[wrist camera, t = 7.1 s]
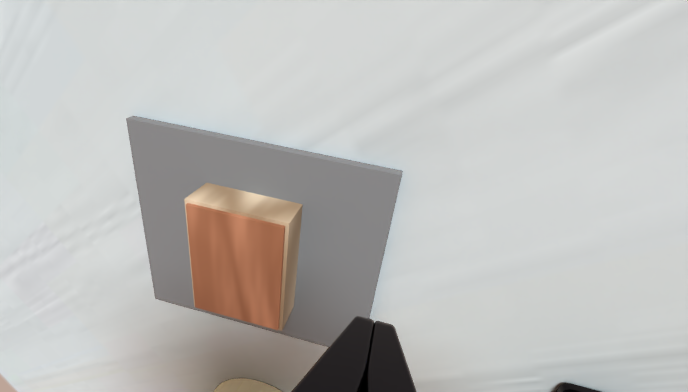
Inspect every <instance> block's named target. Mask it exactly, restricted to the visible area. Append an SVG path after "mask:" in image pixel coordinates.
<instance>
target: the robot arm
mask: <svg viewBox="0 0 688 392" xmlns="http://www.w3.org/2000/svg"><path fill="white" fill-rule="evenodd" d="M292 392H416V389H415V386H414V383H413V380H412V377H411V374H410V371H409V368H408V365H407V362H406V359H405V356H404V354H403V351H402V348H401V345H400V342H399V339H398V336H397V333H396V330H395V328H394V326H393V325H391V324H388V323H384V322H380V321H376V322H375V323H374V321H373V320H372V319H369V318H365V317H361V316H356V317H355V318H354V319H353V320H352V321H351V322H350V323H349V325H348V326H347V327H346V328H345V329H344V331H343V332H342V333H341V334H340V335H339V336H338V338H337V339H336V340H335V341H334V342H333V343H332V345H331V346H330V347H329V348H328V349H327V351H326V352H325V353H324V354H323V355H322V356H321V358H320V359H319V360H318V361H317V362H316V363H315V365H314V366H313V367H312V368H311V369H310V371H309V372H308V373H307V374H306V375H305V376H304V378H303V379H302V380H301V381H300V382H299V383H298V385H297V386H296V387H295V388H294V389H293V391H292ZM557 392H600V391H596V390H592V389H589V388H585V387H581V386H577V385H574V384H569V383H567V384H563V385H561V386H560V387H559V389H558V390H557Z"/></svg>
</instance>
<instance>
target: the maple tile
mask: <svg viewBox="0 0 688 392" xmlns="http://www.w3.org/2000/svg"><path fill="white" fill-rule="evenodd" d="M184 202H185V212H186V223H187V234H188V244H189V255H190V266H191V276H192V287H193V298H194V307H196V308H199V309H203V310H206V311H210V312H214V313H217V314H221V315H224V316H228V317H232V318H235V319H239V320H242V321H246V322H250V323H253V324H257V325H260V326H264V327H268V328H271V329H275V330H280V331H282V330H283V328H284V326H285V324H286V321H287V319H288V317H289V315H290V313H291V311H292V309H293V307H294V299H295V287H296V275H297V264H298V252H299V241H300V229H301V218H302V206H303V204H299V203H295V202H290V201H286V200H281V199H277V198H272V197H268V196H264V195H259V194H255V193H250V192H246V191H242V190H237V189H233V188H228V187H224V186H219V185H215V184H211V183H206V184H204V185H203V186H201V187H200V188H199V189H197V190H196V191H195V192H193V193H192V194H190V195H189V196H188V197H186V198H185V199H184Z"/></svg>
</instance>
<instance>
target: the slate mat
mask: <svg viewBox="0 0 688 392" xmlns="http://www.w3.org/2000/svg"><path fill="white" fill-rule="evenodd" d="M126 120H127V126H128V133H129V139H130V145H131V151H132V157H133V164H134V170H135V176H136V182H137V188H138V194H139V201H140V207H141V213H142V219H143V225H144V231H145V238H146V244H147V250H148V256H149V262H150V269H151V275H152V281H153V287H154V293H155V299H158V300H162V301H166V302H169V303H173V304H176V305H180V306H184V307H187V308H191V309H194V310H198V311H202V312H205V313H209V314H212V315H216V316H219V317H223V318H227V319H230V320H234V321H237V322H241V323H245V324H248V325H252V326H255V327H259V328H263V329H266V330H270V331H273V332H277V333H280V334H284V335H288V336H291V337H295V338H298V339H302V340H306V341H309V342H313V343H316V344H320V345H323V346H327V347H330V346H331V345H332V343H333V342H334V341H335V340H336V339H337V338H338V336H339V335H340V334H341V333H342V332H343V331H344V329H345V328H346V327H347V326H348V325H349V323H350V322H351V321H352V320H353V319H354V318H355V317H356V316H361V317H365V318H369V317H370V312H371V308H372V304H373V299H374V295H375V290H376V286H377V282H378V277H379V273H380V268H381V264H382V260H383V255H384V251H385V247H386V242H387V238H388V233H389V229H390V225H391V220H392V216H393V211H394V207H395V203H396V198H397V194H398V190H399V185H400V181H401V176H402V171H400V170H395V169H390V168H385V167H380V166H375V165H370V164H365V163H361V162H356V161H351V160H346V159H341V158H336V157H331V156H326V155H322V154H317V153H312V152H307V151H302V150H297V149H292V148H288V147H283V146H278V145H273V144H268V143H263V142H258V141H253V140H249V139H244V138H239V137H234V136H229V135H224V134H219V133H214V132H210V131H205V130H200V129H195V128H190V127H185V126H180V125H175V124H171V123H166V122H161V121H156V120H151V119H146V118H141V117H137V116H132V117H129V118H126ZM206 183H211V184H215V185H219V186H224V187H228V188H233V189H237V190H242V191H246V192H250V193H255V194H259V195H264V196H268V197H272V198H277V199H281V200H286V201H290V202H295V203H299V204H303V206H302V218H301V229H300V241H299V252H298V264H297V275H296V287H295V299H294V307H293V309H292V311H291V313H290V315H289V317H288V319H287V321H286V324H285V326H284V328H283V330H282V331H280V330H275V329H271V328H268V327H264V326H260V325H257V324H253V323H250V322H246V321H242V320H239V319H235V318H232V317H228V316H224V315H221V314H217V313H214V312H210V311H206V310H203V309H199V308H196V307H194V298H193V287H192V276H191V266H190V255H189V244H188V234H187V223H186V212H185V202H184V199H185V198H186V197H188V196H189V195H190V194H192V193H193V192H195V191H196V190H197V189H199V188H200V187H201V186H203V185H204V184H206Z"/></svg>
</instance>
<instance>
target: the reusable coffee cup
mask: <svg viewBox="0 0 688 392" xmlns="http://www.w3.org/2000/svg"><path fill="white" fill-rule="evenodd" d="M214 392H282V391H280V390H279V389H277V388H275V387H273V386H271V385H268V384H266V383H263V382H260V381H256V380H252V379H245V378H236V379H230V380H227V381H224V382H222V383H221V384H220V385H218V386H217V388H216V389H215V390H214Z"/></svg>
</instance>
